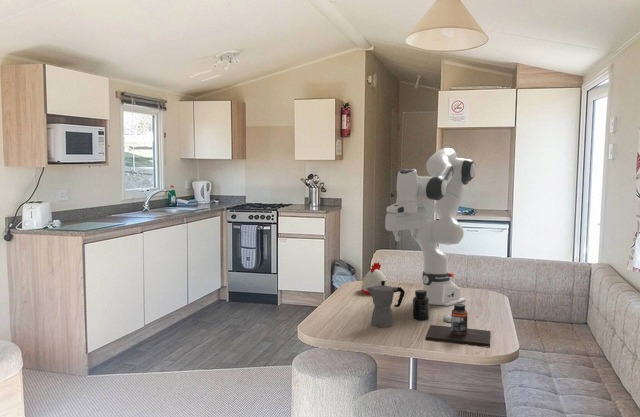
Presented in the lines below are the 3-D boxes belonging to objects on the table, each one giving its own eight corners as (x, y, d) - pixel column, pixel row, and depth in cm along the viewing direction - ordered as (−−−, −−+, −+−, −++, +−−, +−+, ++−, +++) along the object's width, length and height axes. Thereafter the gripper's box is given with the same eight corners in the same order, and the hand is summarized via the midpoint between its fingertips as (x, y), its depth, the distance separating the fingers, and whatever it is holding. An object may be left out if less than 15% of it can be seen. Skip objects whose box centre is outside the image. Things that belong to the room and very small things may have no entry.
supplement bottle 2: (458, 330, 208) (459, 301, 208) (470, 334, 204) (471, 305, 203) (447, 333, 205) (448, 303, 204) (459, 337, 200) (460, 307, 199)
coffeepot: (365, 326, 216) (366, 282, 214) (366, 320, 225) (367, 277, 224) (404, 328, 214) (405, 284, 212) (403, 321, 223) (404, 279, 222)
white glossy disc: (453, 316, 232) (453, 313, 232) (467, 321, 225) (467, 318, 225) (439, 318, 228) (439, 316, 228) (452, 323, 221) (452, 321, 221)
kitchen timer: (393, 291, 275) (394, 262, 274) (378, 296, 265) (378, 266, 263) (371, 287, 284) (372, 259, 283) (355, 292, 274) (356, 263, 273)
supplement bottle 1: (429, 317, 230) (430, 290, 229) (427, 321, 223) (428, 293, 222) (413, 315, 232) (414, 288, 231) (411, 320, 226) (411, 292, 224)
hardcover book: (430, 330, 216) (430, 324, 216) (490, 336, 209) (490, 330, 208) (425, 342, 201) (425, 336, 200) (489, 350, 193) (490, 343, 193)
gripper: (420, 205, 233) (420, 237, 234) (383, 208, 223) (382, 241, 224) (430, 207, 228) (430, 239, 229) (392, 209, 217) (392, 243, 219)
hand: (406, 240), depth 226 cm, fingers open, 8 cm apart
